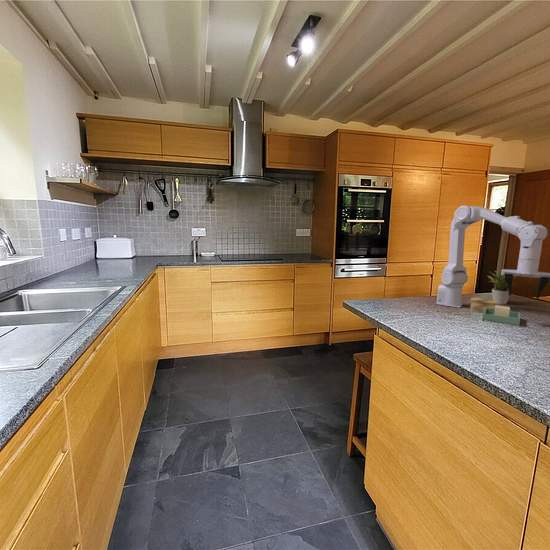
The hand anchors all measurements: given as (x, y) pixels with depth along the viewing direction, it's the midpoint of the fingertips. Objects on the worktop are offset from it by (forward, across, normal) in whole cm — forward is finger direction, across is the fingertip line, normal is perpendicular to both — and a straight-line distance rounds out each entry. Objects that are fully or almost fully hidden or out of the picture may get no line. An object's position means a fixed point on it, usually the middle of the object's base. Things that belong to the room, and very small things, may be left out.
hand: (523, 296), depth 108 cm
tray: (+10, -6, +2) cm, 12 cm away
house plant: (+11, -6, +35) cm, 37 cm away
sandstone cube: (+10, -6, +2) cm, 12 cm away
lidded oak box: (+10, -12, +11) cm, 19 cm away
